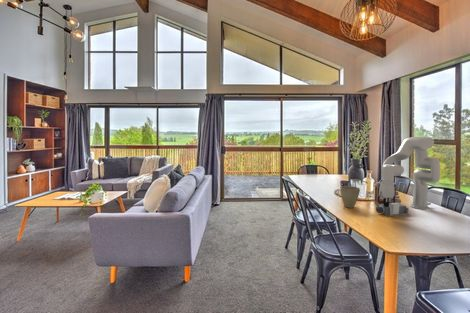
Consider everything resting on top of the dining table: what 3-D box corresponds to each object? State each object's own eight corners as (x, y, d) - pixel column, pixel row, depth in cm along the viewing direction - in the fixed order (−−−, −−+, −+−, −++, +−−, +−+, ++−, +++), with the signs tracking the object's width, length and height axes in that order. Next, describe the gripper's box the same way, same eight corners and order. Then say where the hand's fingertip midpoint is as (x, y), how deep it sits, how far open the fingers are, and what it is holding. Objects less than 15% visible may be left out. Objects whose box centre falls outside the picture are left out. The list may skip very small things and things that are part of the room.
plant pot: (339, 208, 206) (340, 188, 205) (339, 203, 220) (340, 185, 218) (359, 210, 200) (360, 190, 199) (358, 205, 214) (359, 186, 213)
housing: (395, 210, 200) (396, 202, 200) (408, 214, 189) (408, 205, 189) (373, 212, 195) (373, 203, 194) (385, 216, 184) (385, 207, 184)
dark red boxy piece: (402, 208, 206) (404, 184, 204) (377, 206, 210) (378, 183, 208) (398, 205, 215) (399, 182, 213) (373, 203, 219) (374, 181, 217)
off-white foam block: (397, 213, 189) (397, 202, 188) (399, 214, 187) (400, 203, 186) (389, 214, 187) (390, 203, 186) (392, 214, 185) (392, 204, 184)
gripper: (391, 180, 189) (390, 204, 190) (375, 181, 185) (373, 206, 187) (400, 182, 182) (398, 207, 183) (383, 183, 178) (381, 208, 180)
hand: (386, 206), depth 185 cm, fingers closed
